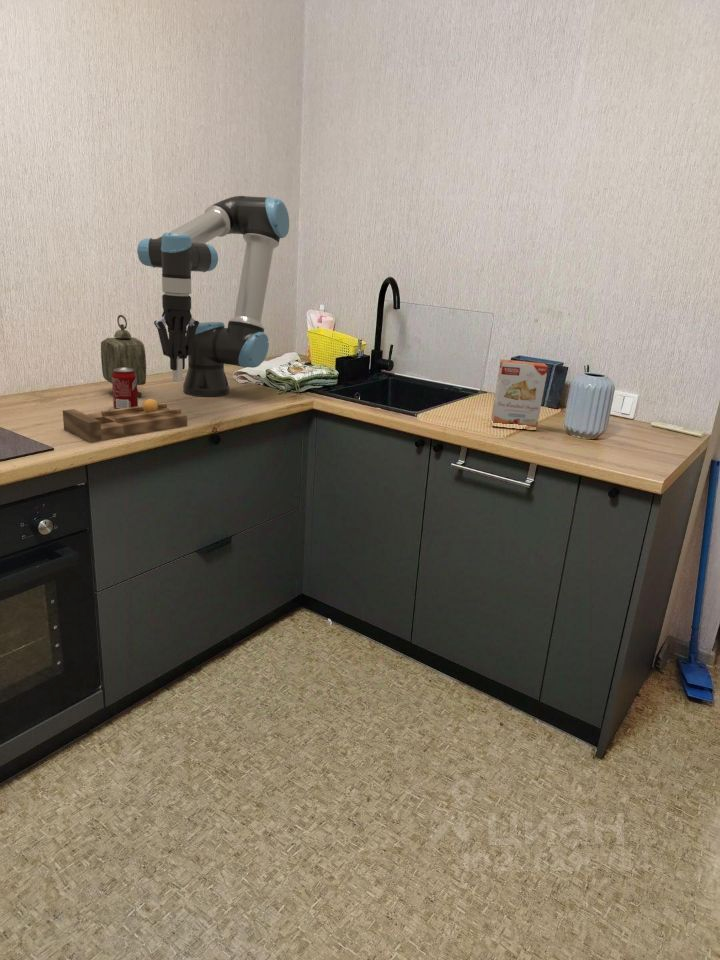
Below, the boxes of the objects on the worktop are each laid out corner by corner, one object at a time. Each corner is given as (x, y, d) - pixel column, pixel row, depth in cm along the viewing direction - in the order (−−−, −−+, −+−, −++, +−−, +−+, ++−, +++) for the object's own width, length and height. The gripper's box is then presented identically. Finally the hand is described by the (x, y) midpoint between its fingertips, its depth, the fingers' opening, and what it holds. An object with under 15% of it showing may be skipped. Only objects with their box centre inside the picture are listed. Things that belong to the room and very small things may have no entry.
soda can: (130, 413, 188) (128, 372, 184) (109, 410, 190) (106, 369, 186) (142, 408, 195) (140, 368, 191) (121, 405, 196) (119, 366, 192)
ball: (153, 410, 182) (152, 396, 181) (161, 413, 180) (160, 399, 178) (140, 412, 179) (139, 398, 178) (148, 415, 177) (147, 401, 175)
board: (159, 414, 190) (159, 398, 188) (187, 425, 181) (187, 408, 179) (64, 429, 170) (62, 410, 168) (90, 442, 161) (88, 422, 159)
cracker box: (492, 428, 205) (502, 361, 198) (490, 423, 210) (499, 358, 203) (537, 432, 204) (548, 365, 197) (533, 427, 210) (544, 362, 203)
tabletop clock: (147, 398, 207) (144, 318, 198) (119, 401, 201) (114, 318, 193) (129, 389, 217) (125, 312, 208) (102, 391, 211) (97, 312, 203)
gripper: (189, 293, 182) (189, 377, 190) (147, 292, 173) (149, 380, 180) (205, 296, 177) (205, 381, 185) (163, 295, 168) (164, 385, 176)
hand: (177, 381), depth 183 cm, fingers closed
